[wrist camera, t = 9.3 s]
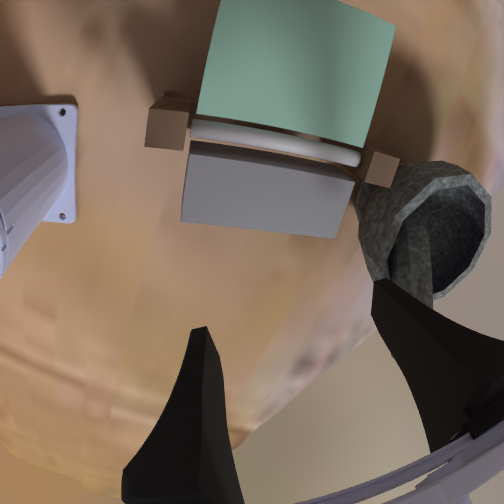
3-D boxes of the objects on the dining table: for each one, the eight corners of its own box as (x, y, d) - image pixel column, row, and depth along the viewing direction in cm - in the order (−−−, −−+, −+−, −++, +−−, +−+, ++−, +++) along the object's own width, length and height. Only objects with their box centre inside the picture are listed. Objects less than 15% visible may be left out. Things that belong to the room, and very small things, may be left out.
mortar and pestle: (406, 113, 19) (541, 178, 9) (450, 198, 24) (546, 280, 14) (292, 215, 22) (366, 346, 12) (357, 281, 27) (424, 392, 17)
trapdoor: (180, 198, 17) (178, 221, 14) (221, -17, 11) (227, -32, 9) (320, 216, 19) (336, 239, 16) (373, 28, 13) (401, 27, 11)
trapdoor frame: (160, 123, 17) (144, 151, 12) (165, 91, 16) (149, 103, 11) (338, 154, 20) (388, 191, 15) (346, 126, 19) (401, 155, 14)
